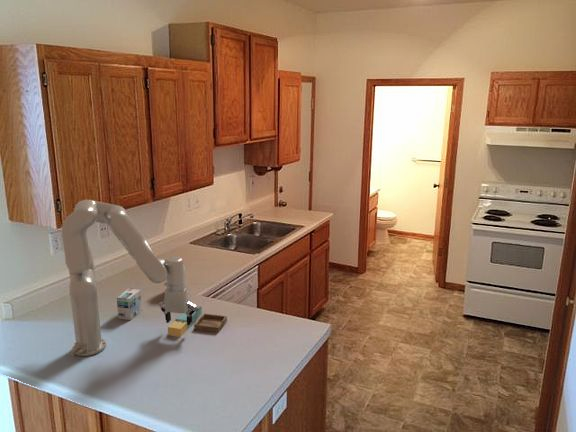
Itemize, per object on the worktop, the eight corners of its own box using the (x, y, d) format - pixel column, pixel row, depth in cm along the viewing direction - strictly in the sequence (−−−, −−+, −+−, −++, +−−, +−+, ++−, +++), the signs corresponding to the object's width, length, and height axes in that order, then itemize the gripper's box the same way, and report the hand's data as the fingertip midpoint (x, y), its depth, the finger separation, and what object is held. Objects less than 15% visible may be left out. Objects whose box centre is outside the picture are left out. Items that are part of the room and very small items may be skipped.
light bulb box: (131, 320, 211) (129, 298, 209) (117, 319, 213) (115, 297, 210) (142, 310, 221) (141, 289, 219) (129, 308, 223) (128, 288, 220)
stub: (180, 337, 198) (180, 328, 197) (168, 335, 199) (167, 326, 198) (187, 330, 203) (187, 322, 202) (175, 328, 205) (174, 320, 204)
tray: (218, 332, 201) (218, 327, 201) (194, 329, 204) (194, 324, 203) (226, 321, 212) (226, 316, 211) (204, 318, 214) (203, 313, 214)
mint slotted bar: (189, 329, 204) (188, 319, 202) (173, 327, 205) (172, 317, 204) (203, 313, 219) (203, 303, 217) (188, 312, 220) (188, 301, 219)
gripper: (153, 288, 194) (156, 324, 198) (191, 291, 190) (194, 328, 195) (161, 281, 201) (164, 316, 206) (198, 284, 197) (201, 320, 202)
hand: (179, 322), depth 200 cm, fingers open, 9 cm apart
